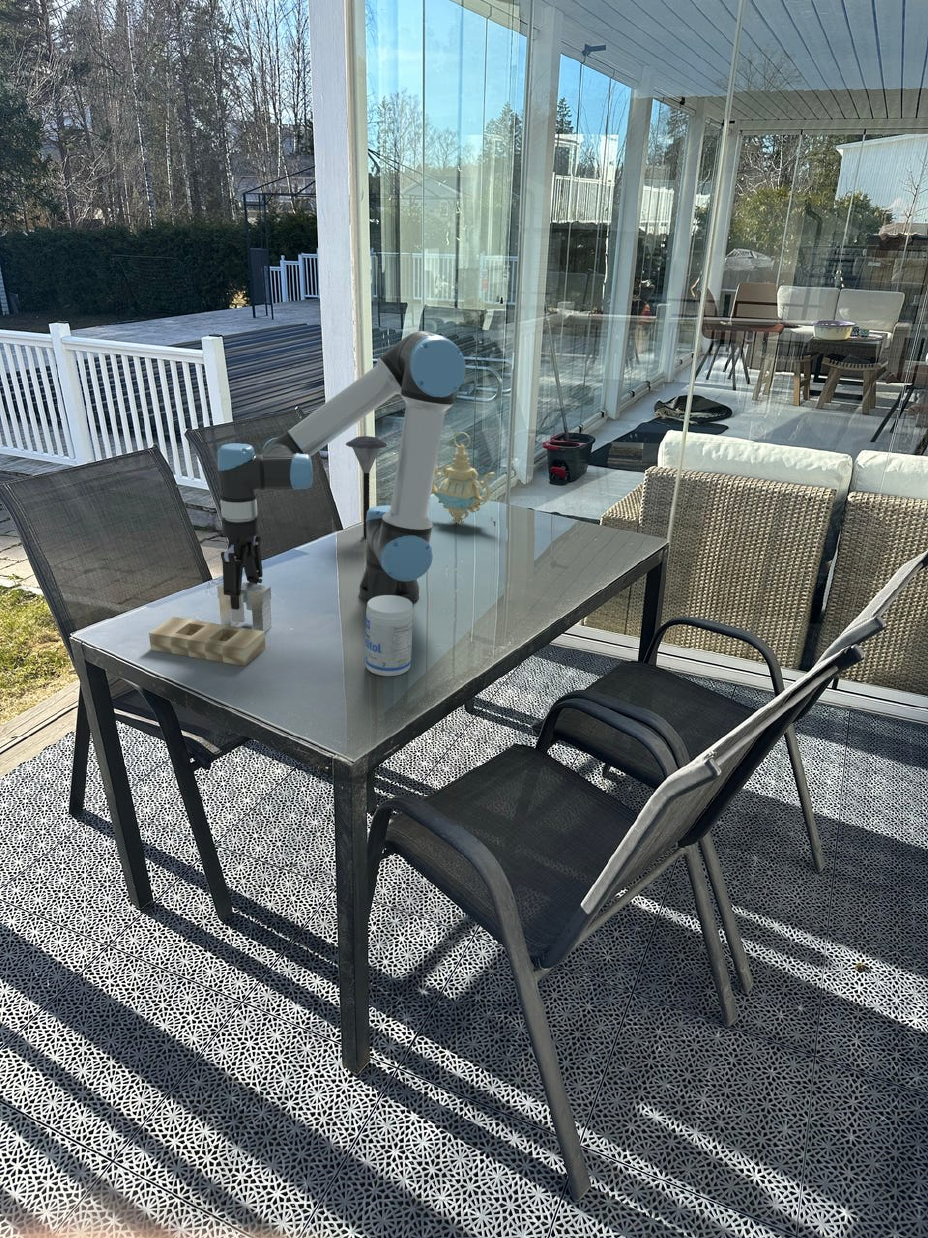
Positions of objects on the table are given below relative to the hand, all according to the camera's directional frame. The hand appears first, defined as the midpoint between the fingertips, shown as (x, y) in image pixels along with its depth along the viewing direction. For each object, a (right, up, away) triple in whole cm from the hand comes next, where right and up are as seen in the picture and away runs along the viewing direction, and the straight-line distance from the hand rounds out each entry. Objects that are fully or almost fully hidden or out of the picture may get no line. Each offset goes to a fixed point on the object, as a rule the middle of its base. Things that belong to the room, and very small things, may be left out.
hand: (245, 615), depth 186 cm
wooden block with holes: (-5, -7, -10) cm, 13 cm away
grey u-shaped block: (0, -3, +1) cm, 3 cm away
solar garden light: (+20, +24, +65) cm, 72 cm away
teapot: (+48, +30, +81) cm, 98 cm away
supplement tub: (+34, -11, -14) cm, 38 cm away
